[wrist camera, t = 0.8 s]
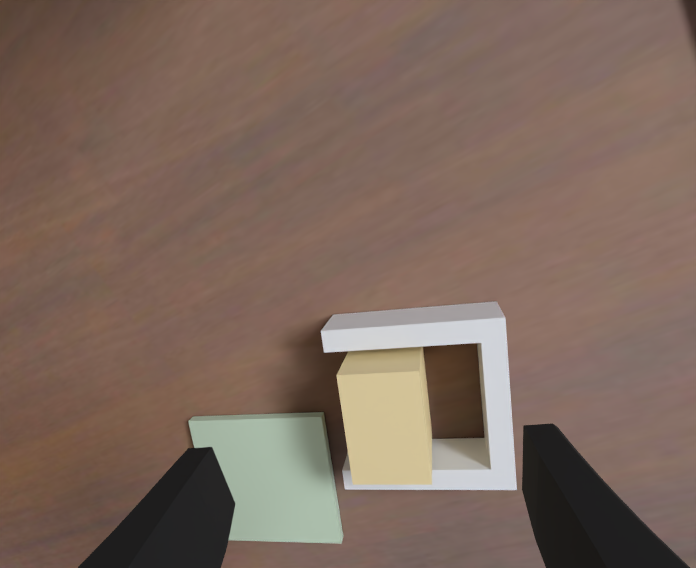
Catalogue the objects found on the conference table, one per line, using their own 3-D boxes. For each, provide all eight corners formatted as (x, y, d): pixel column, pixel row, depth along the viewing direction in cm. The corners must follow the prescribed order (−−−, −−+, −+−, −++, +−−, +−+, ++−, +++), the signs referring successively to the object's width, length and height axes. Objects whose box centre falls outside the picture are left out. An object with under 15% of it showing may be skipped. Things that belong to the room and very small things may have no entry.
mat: (343, 536, 29) (341, 543, 29) (218, 533, 31) (214, 539, 31) (323, 412, 28) (321, 416, 27) (193, 416, 29) (188, 421, 29)
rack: (507, 455, 26) (516, 489, 23) (353, 457, 28) (345, 489, 25) (496, 301, 24) (505, 317, 21) (333, 314, 26) (320, 330, 23)
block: (431, 430, 27) (432, 484, 22) (366, 431, 27) (352, 484, 23) (421, 335, 25) (419, 370, 21) (353, 340, 26) (336, 375, 21)
